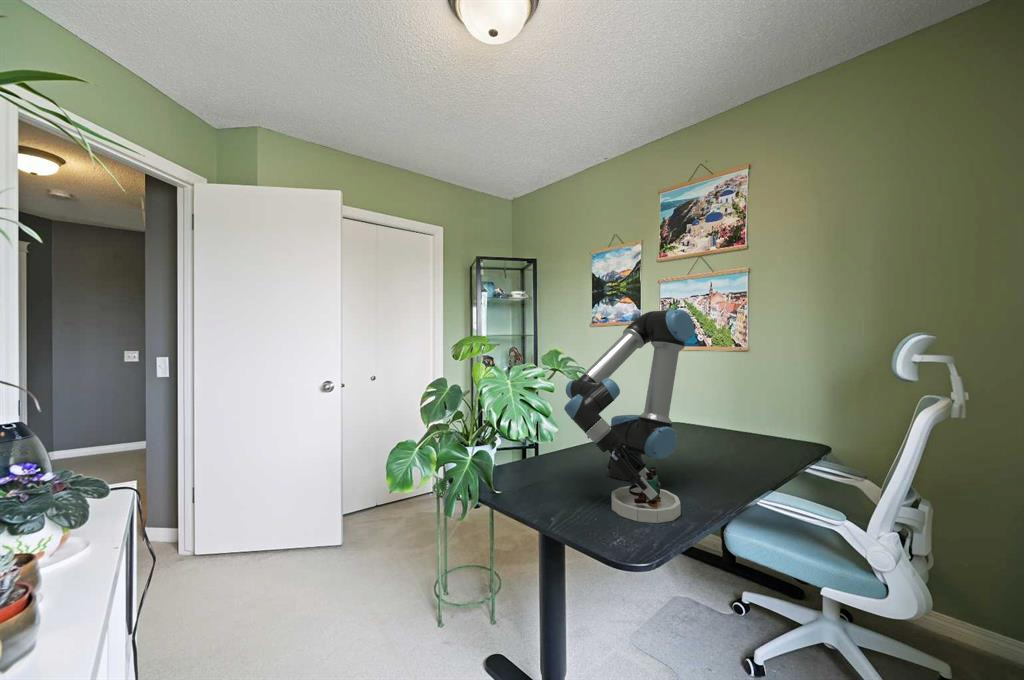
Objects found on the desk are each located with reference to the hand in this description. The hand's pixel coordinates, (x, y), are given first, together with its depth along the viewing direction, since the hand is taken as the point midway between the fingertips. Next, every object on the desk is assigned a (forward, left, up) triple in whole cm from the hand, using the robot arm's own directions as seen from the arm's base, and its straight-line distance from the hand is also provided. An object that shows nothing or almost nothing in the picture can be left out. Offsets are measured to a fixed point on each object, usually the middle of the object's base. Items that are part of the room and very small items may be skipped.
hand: (655, 491), depth 130 cm
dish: (-3, -1, -6) cm, 7 cm away
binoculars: (-3, -1, -4) cm, 5 cm away
